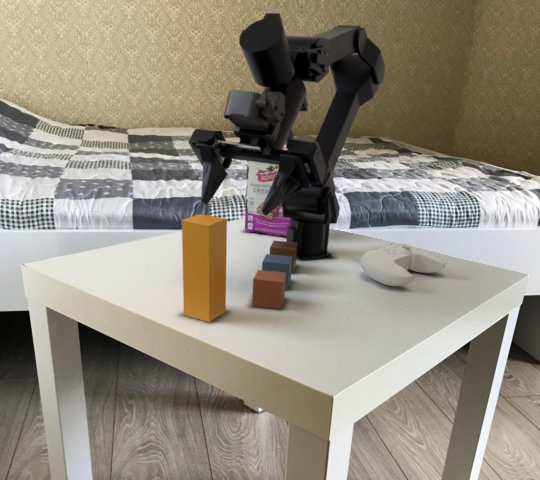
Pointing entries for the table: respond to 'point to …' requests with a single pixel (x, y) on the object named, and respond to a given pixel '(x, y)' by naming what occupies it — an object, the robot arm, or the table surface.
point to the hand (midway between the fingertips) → (232, 208)
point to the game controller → (399, 263)
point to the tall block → (204, 266)
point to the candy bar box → (256, 194)
